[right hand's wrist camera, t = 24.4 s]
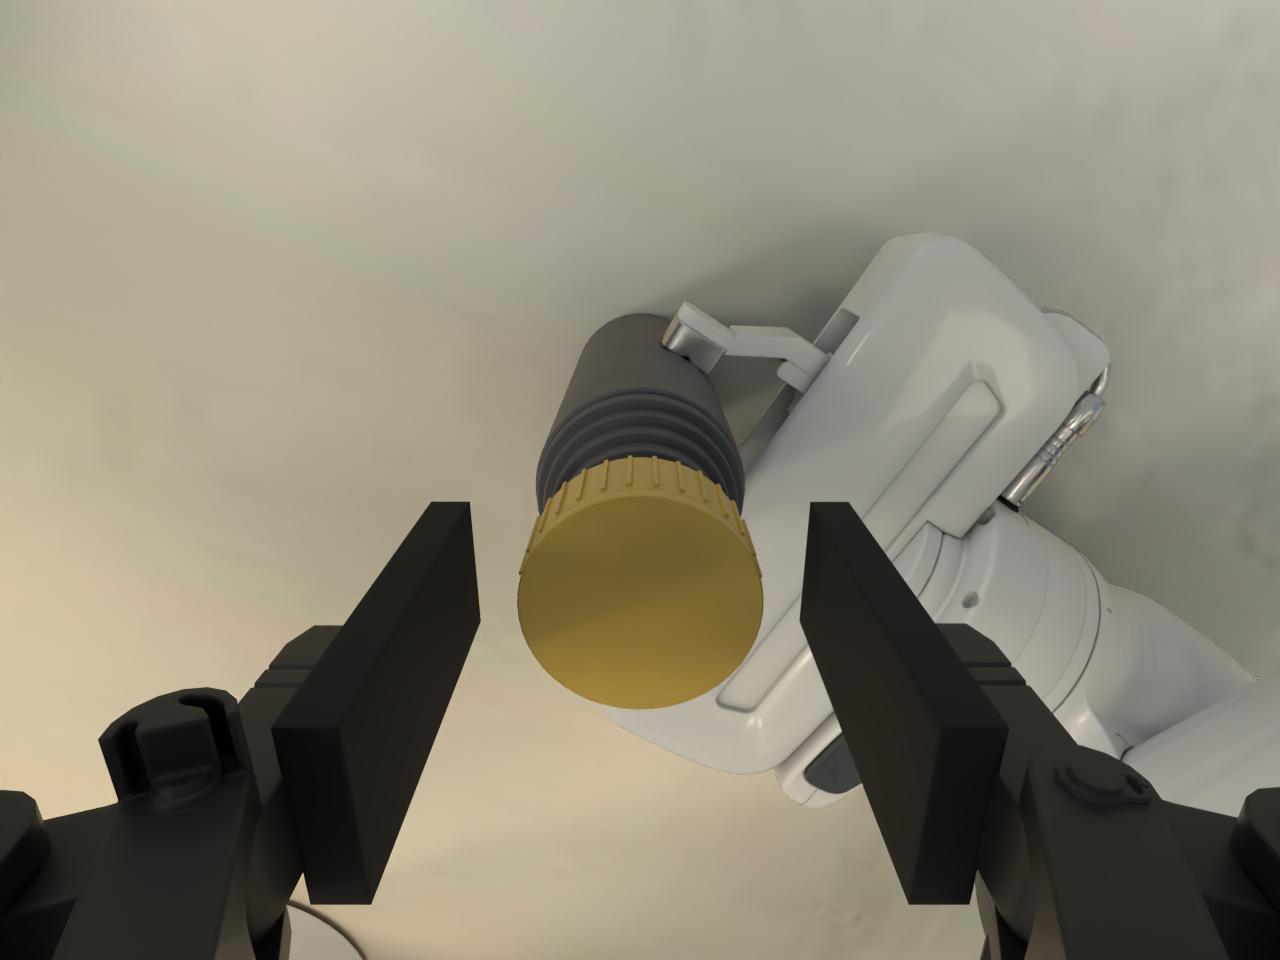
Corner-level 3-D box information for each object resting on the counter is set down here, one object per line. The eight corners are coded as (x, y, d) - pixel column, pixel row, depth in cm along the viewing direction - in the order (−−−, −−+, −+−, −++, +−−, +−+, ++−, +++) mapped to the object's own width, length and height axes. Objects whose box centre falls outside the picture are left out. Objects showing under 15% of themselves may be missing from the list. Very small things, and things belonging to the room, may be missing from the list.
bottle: (571, 429, 31) (490, 687, 14) (584, 305, 29) (509, 435, 12) (692, 444, 31) (752, 716, 15) (713, 322, 30) (808, 474, 13)
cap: (546, 658, 16) (532, 721, 14) (515, 463, 14) (495, 503, 12) (754, 642, 15) (769, 704, 14) (746, 443, 14) (763, 480, 12)
